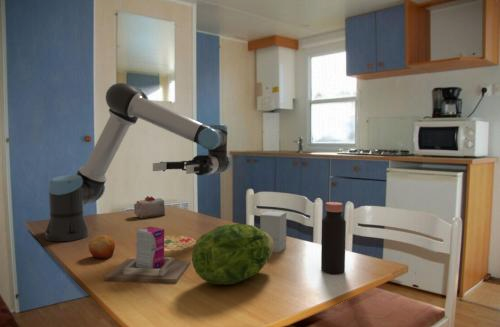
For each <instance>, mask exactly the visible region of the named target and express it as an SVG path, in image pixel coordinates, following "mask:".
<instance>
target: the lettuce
mask: <svg viewBox="0 0 500 327" xmlns="http://www.w3.org/2000/svg"><path fill="white" fill-rule="evenodd" d="M273 248H274V242H273V239H272V238H271V237H270V235H269V234H267V233H266V232H264V231H262V230H260V227H259V228H258V227H257V226H254V225H251V224H244V223H231V224H230V223H229V224H222V225H220V226H217V227H215V228H213V229H211V230H210V231H207V232H206V233H204V234H202V235H201V236H200V237H199V238H198V239H197V240H196V242H195V244H194V246H193V248H192V252H191V261H192V265H193V269H194V270H195V273H196V274H197V275H198V277H199V278H200V279H202V280H203V281H205V282H206V283H209V284H212V285H235V284H237V283H240V282H243V281H244V280H247V279H248V278H251V277H253V276H256V275H257V274H258V273H259V272H260V271H261V270H262V269H263V268H264V266H265V265H266V264H267V262H268V261H269V259H270V258H271V256H272V254H273Z"/></svg>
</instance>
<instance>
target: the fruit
mask: <svg viewBox="0 0 500 327" xmlns="http://www.w3.org/2000/svg"><path fill="white" fill-rule="evenodd" d="M115 243H116V242H115V241H114V238H113V236H111V235H109V234H104V235H103V234H101V235H98V236H96V237H94V238H93V239H92V240H90V242H89V243H88V250H89V253H90V254H91V256H92V257H93V258H95V259H109V258H110V257H113V255H114V253H115V248H116V244H115Z"/></svg>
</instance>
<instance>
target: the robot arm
mask: <svg viewBox="0 0 500 327" xmlns="http://www.w3.org/2000/svg"><path fill="white" fill-rule="evenodd" d="M105 93H106V94H105V102H106V105H107V106H108V108H109V109H108V113H109V117H108V120H107V122H106V123H105V126H104V127H103V130H102V132H101V133H100V135H99V137H98V140H97V141H96V143H95V145H94V148H93V149H92V150H91V153H90V155H89V157H88V159H87V161H86V164H85V165H84V166H80V167H79V168H78V170H77V172H76V174H66V175H59V176H56V177H53V178H51V179H50V180H49V184H48V185H49V187H48V193H49V197H48V198H49V220H48V223H47V227H46V230H45V233H44V234H45V240H47V241H49V242H70V241H77V240H81V239H85V238H86V237H88V236H89V227H88V225H87V222H86V219H85V217H84V206H85V205H88V204H92V203H95V202H96V201H98V200H99V199H101V198H102V196H103V195H104V194H105V189H106V186H105V184H106V181H107V177H106V173H107V171H108V170H109V167H110V165H111V163H112V161H113V160H114V158H115V155H116V153H117V152H118V150H119V148H120V146H121V143H122V142H123V140H124V138H125V136H126V134H127V133H128V130H129V128H130V127H131V126H132V125H135V124H137V122H138V119H141V120H143V121H144V122H147V123H149V124H152V125H154V126H156V127H159V128H160V129H163V130H165V131H167V132H170V133H173V134H175V135H177V136H179V137H182V138H184V139H186V140H188V141H191V142H192V143H195V144H197V145H199V146H201V147H202V148H204V149H206V150H207V154H198V155H196V156H194V157H193V158H192V159H189V160H181V161H159V162H153V163H152V172H160V171H162V172H166V171H167V170H182V171H185V174H186V175H189V174H190V175H191V174H194V175H196V176H205V175H206V176H210V175H212V174H218V173H220V174H221V173H224V172H226V171H228V170H230V168H231V165H232V160H231V157H230V156H229V155H228V126H227V124H219V123H216V124H215V123H211V124H209V125H206V124H204V123H202V122H199V121H197V120H195V119H192V118H190V117H188V116H186V115H183V114H180V113H178V112H177V111H174V110H171V109H169V108H168V107H165V106H163V105H160V104H158V103H156V102H154V101H151V100H149V98H148V95H147V93H146V92H145V91H144V90H142V89H141V88H140V87H137V86H135V85H132V84H131V85H130V84H128V83H125V82H124V83H123V82H117V83H114V84H112V85H111V86H110V87H108V89H107V90H106V92H105Z"/></svg>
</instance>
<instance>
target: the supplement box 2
mask: <svg viewBox="0 0 500 327" xmlns="http://www.w3.org/2000/svg"><path fill="white" fill-rule="evenodd" d="M259 219H260V220H259V221H260V222H259V225H260V227H259V229H260V230H262V231H264V232H266V233H267V234H269V235H270V237H271V238H272V239H273V242H274V248H273V252H274V253H281V252H282V251H283V250H285V249H286V248H287V212H283V211H270V210H267V211H265V212H263V213H261V214H260V216H259ZM273 252H272V253H273Z"/></svg>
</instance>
